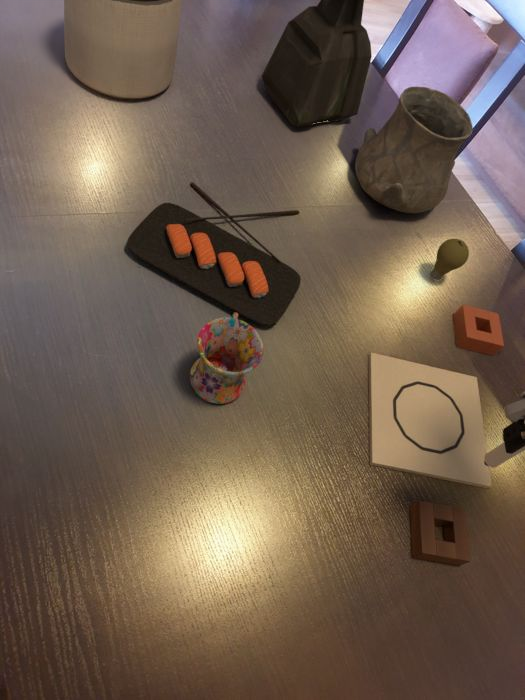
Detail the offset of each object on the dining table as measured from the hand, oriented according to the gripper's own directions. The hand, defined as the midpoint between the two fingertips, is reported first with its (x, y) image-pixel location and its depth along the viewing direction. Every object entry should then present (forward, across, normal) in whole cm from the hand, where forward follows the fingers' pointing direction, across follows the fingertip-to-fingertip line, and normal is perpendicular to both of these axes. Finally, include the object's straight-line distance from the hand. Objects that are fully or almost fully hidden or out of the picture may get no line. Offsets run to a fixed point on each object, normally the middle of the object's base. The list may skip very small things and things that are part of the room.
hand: (517, 443), depth 69 cm
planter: (+21, -65, +82) cm, 107 cm away
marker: (+7, 0, 0) cm, 7 cm away
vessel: (+21, -4, +68) cm, 71 cm away
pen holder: (+21, +11, +33) cm, 41 cm away
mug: (+21, -35, +14) cm, 43 cm away
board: (+21, 0, +13) cm, 25 cm away
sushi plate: (+21, -36, +42) cm, 59 cm away
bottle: (+21, -24, +88) cm, 94 cm away
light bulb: (+21, +4, +45) cm, 50 cm away
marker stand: (+21, 0, -6) cm, 22 cm away
